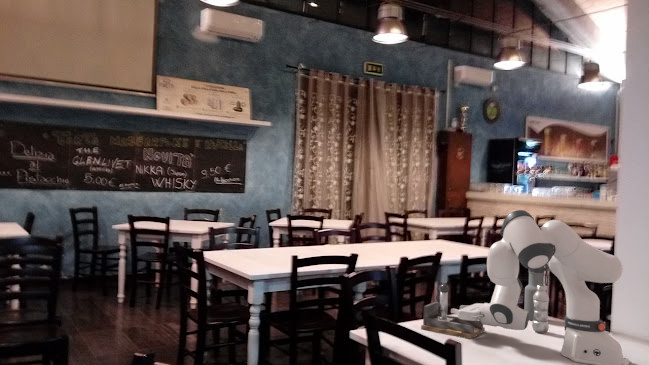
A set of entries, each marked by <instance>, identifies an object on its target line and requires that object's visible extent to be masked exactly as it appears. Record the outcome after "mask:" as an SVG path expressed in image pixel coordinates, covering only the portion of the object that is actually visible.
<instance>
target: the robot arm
mask: <svg viewBox="0 0 649 365" xmlns="http://www.w3.org/2000/svg"><path fill="white" fill-rule="evenodd" d="M499 234H500V236H501V237H502V238H501V239H500V240H498V241H496V242H494V243H493V244H492V245H491V246H490V248H489V250H488V253H487V257H486V270H487V276H488V278H489V279H490V282H492V283H493V284H495V286H494V291H493V293H492V296H491V300H490V302H489V303H488V302H484V303H478V302H476V303H473V304H470V305H463V304H462V305H460V306H459V309H457V308H451V309H450V313H451V314H454V315H455V316H457V317H458V318H459V319H462V320H469V321H477V320H479V321H481V323H482V324H483V326H490V327H495V328H496V327H500V328H503V329H507V330H514V331H524V330H526V329H527V328H528V326H529V321H530V320H529V312H528V311H526V310H524V308H523V309H522V308H520V307H519V305H518V302H519V299H520V295H521V292H522V290H523V282H521V280H520V279H519V274H520V264H521V265H522V267H524V268H525V269H528V270H529V269H538V268H541V267H543V266H544V267H545V265H546V264H548V266H549V271H551V273H552V274H553V275H554V276H555V277H557V279H558V280H559V282H560V283H561V285H562V288H563V290H564V294H565V299H566V302H565V304H566V310H565V311H566V314H565V316H564V326H563V327H564V339H563V342H562V347H561V349H560V355H562V356H564V357H566V358H568V359H570V360H572V361H573V362H575V363H582V364H589V365H630V359H629V358H628V357H627V356H624V354H623V349H622V346H621V344H620V342H619V341H618V340H616V339H615V337H613V336H611V335H610V334H609V333H608V332H607V331H606V321H603V320H602V319H600V309H601V307H600V305H601V301H600V298H599V297H598V294H596V293H595V292H593V291H592V290H591V289H589V288H588V286H587V284H586V282H591V283H598V284H604V283H605V284H607V283H608V284H610V283H616V282H617V281H619V279H620V278H621V277H622V274H623V269H624V268H623V265H622V262H621V260H620V259H619V257H618V256H616V255H613V254H610V253H607V252H605V251H603V250H600V249H599V248H597V247H595V246H593V245H591V244H589V243H587V242H586V241H584V240H583V239H582V237H581V236H580V235H579V234H578V233H577V232H576V231H575V229H573V228H572V227H571V226H570V225H568V224H567V223H565V222H563V221H561V220H559V219H552V220H551V219H550V220H548V221H546V222H545V223H544V224H542V226H539V225H538V224H537V222H536V221H535V218H534V217H533V215H532V214H530V212H528V211H526V210H523V209H519V210H514V211H511V212H509V213H508V214H507V215H506V217H505V218H504V219H503V223H502V227H501V229H500V231H499Z"/></svg>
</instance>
